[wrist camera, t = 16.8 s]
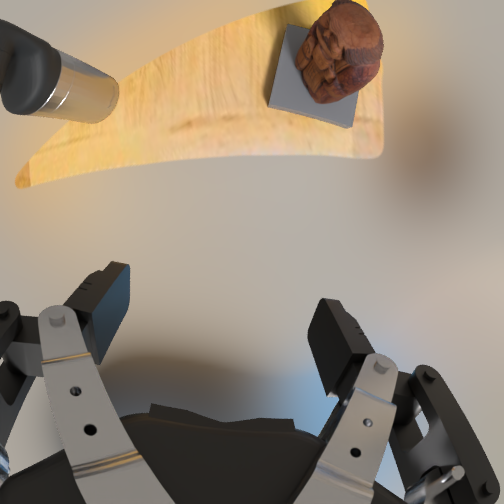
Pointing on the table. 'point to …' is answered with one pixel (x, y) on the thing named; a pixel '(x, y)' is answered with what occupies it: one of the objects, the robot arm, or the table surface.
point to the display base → (296, 94)
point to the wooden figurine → (340, 52)
